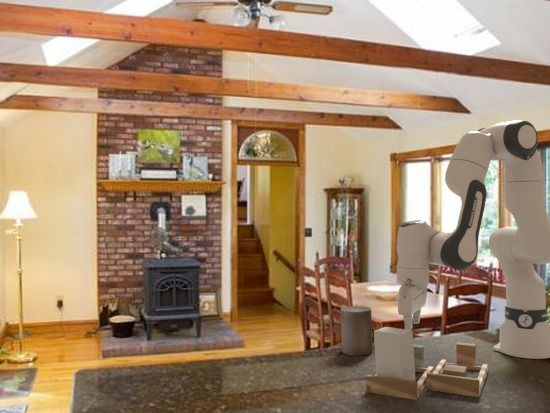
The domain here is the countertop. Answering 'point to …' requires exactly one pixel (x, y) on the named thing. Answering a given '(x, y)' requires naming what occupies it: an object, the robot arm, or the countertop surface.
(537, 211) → the robot arm
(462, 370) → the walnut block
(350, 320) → the pillar candle
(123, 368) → the countertop surface
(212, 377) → the countertop surface
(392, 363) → the skincare box
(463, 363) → the frame
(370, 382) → the frame
